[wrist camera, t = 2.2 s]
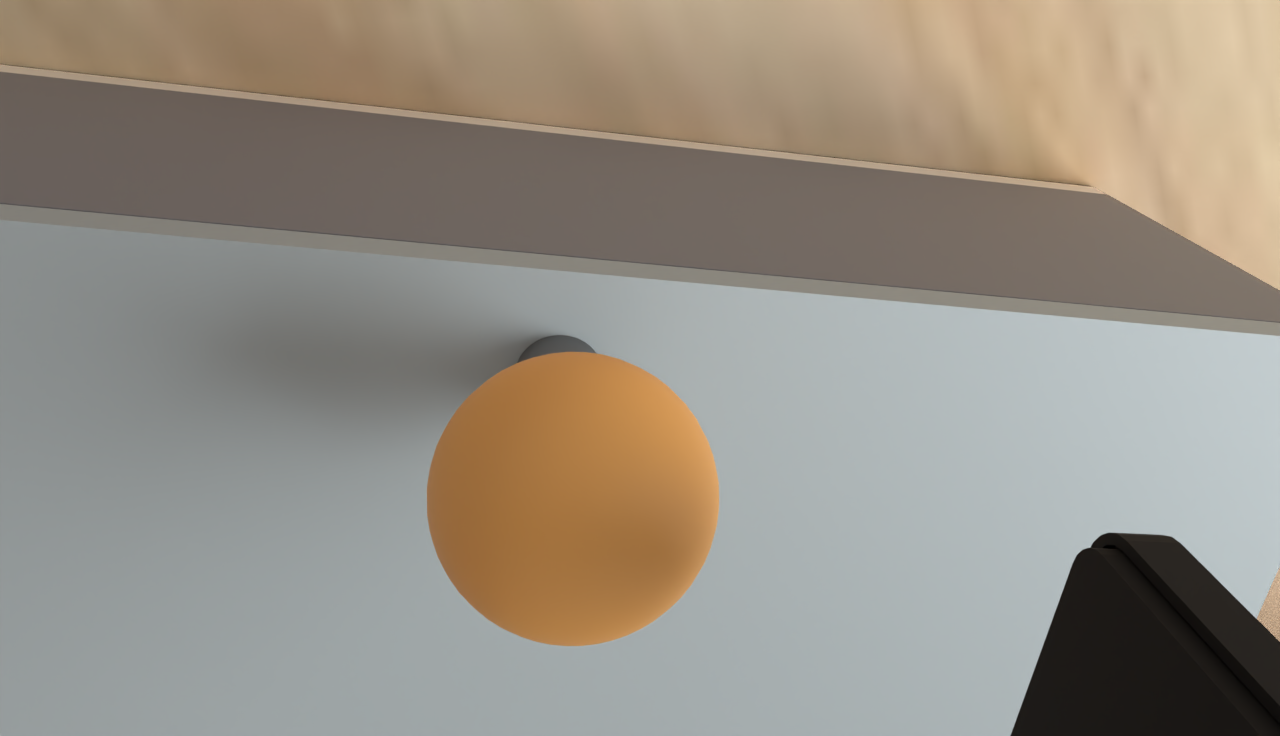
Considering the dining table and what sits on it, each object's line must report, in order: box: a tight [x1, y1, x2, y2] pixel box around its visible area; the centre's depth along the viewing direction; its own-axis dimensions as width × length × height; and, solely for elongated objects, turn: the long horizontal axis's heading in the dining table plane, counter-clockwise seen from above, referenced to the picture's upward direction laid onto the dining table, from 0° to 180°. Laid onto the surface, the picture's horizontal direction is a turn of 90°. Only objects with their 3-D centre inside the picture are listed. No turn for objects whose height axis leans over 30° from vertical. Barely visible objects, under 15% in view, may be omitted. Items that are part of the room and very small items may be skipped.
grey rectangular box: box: [0, 64, 1280, 323], centre depth 21 cm, size 24×13×8 cm, turn 82°
